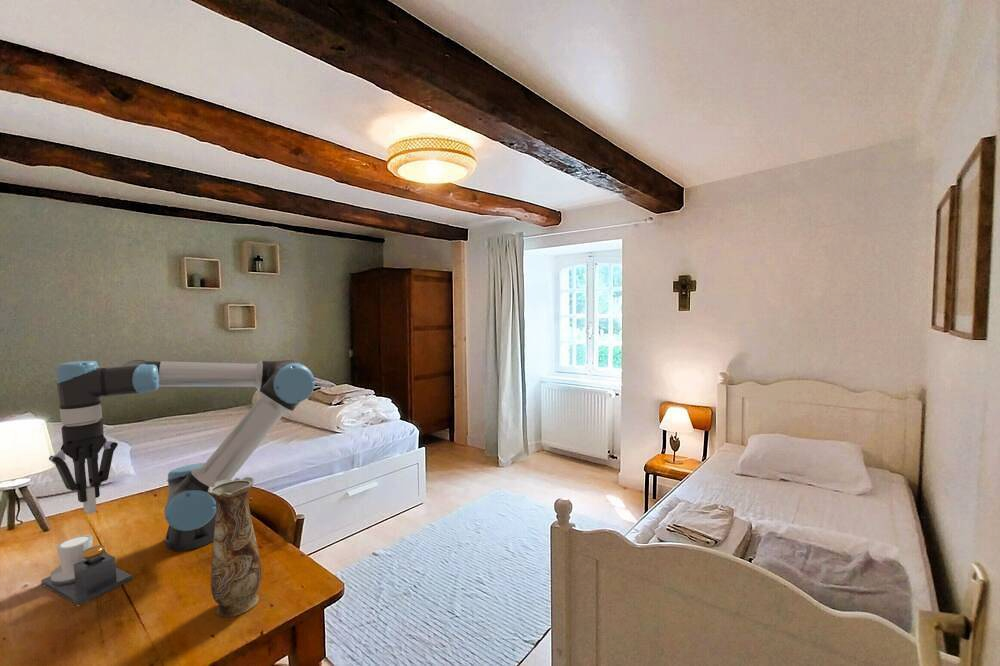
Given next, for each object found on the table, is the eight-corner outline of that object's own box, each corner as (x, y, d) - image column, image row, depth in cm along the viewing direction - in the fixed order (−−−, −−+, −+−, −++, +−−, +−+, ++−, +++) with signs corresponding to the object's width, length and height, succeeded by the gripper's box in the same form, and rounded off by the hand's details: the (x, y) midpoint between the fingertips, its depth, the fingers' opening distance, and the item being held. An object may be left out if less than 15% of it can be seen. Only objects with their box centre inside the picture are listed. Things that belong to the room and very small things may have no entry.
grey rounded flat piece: (110, 566, 118) (109, 560, 118) (61, 589, 109) (60, 582, 109) (92, 558, 122) (91, 552, 122) (43, 578, 113) (43, 572, 113)
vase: (208, 625, 97) (199, 498, 95) (218, 596, 107) (210, 480, 105) (260, 611, 102) (253, 489, 99) (264, 584, 111) (258, 472, 109)
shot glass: (54, 577, 111) (51, 551, 110) (65, 563, 117) (63, 538, 116) (89, 569, 114) (86, 544, 113) (98, 556, 120) (96, 532, 120)
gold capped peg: (109, 577, 112) (106, 547, 112) (89, 586, 109) (87, 555, 108) (101, 573, 114) (99, 544, 113) (82, 582, 110) (79, 552, 110)
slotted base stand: (132, 579, 114) (130, 553, 114) (78, 606, 104) (75, 578, 104) (94, 561, 123) (92, 537, 122) (41, 584, 113) (39, 558, 112)
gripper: (106, 414, 116) (114, 498, 117) (39, 427, 104) (48, 520, 106) (121, 417, 113) (128, 503, 114) (54, 431, 101) (63, 527, 103)
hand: (90, 511), depth 110 cm, fingers closed
